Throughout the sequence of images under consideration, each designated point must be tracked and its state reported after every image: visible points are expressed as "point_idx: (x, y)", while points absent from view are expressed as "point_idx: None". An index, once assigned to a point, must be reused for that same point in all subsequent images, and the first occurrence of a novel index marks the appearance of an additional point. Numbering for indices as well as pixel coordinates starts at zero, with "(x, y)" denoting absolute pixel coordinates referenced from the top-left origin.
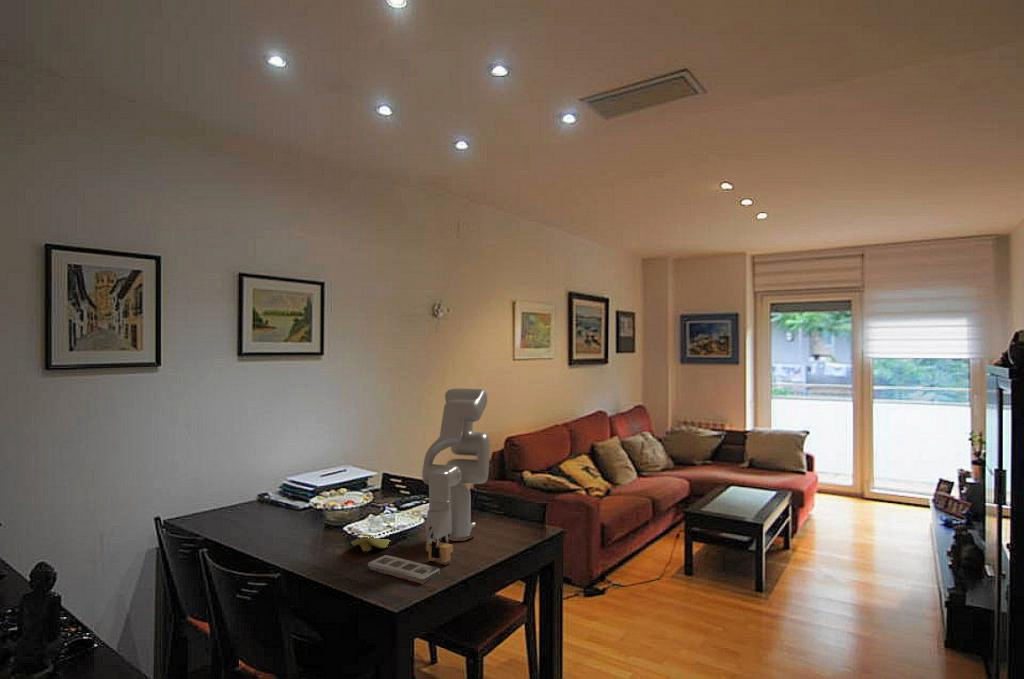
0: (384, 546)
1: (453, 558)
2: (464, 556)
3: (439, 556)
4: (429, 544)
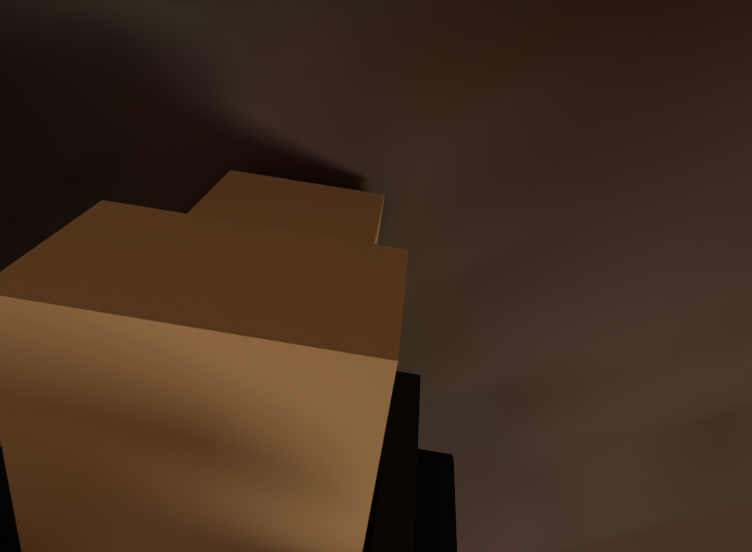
0: None
1: (560, 430)
2: (682, 523)
3: None
4: (3, 414)
